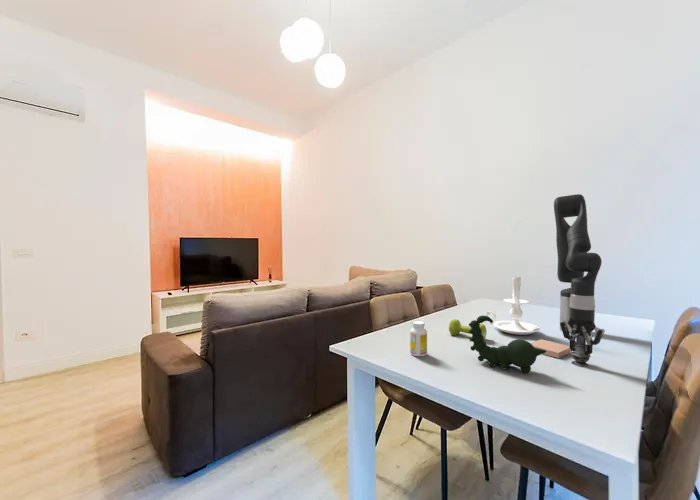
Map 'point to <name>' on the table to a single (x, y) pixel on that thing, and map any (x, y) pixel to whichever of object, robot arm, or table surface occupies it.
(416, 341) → the supplement bottle
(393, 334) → the table surface
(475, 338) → the toy figurine
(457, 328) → the dumbbell
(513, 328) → the candlestick
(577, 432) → the table surface
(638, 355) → the table surface
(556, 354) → the picture frame
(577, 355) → the grey ridged upright piece
